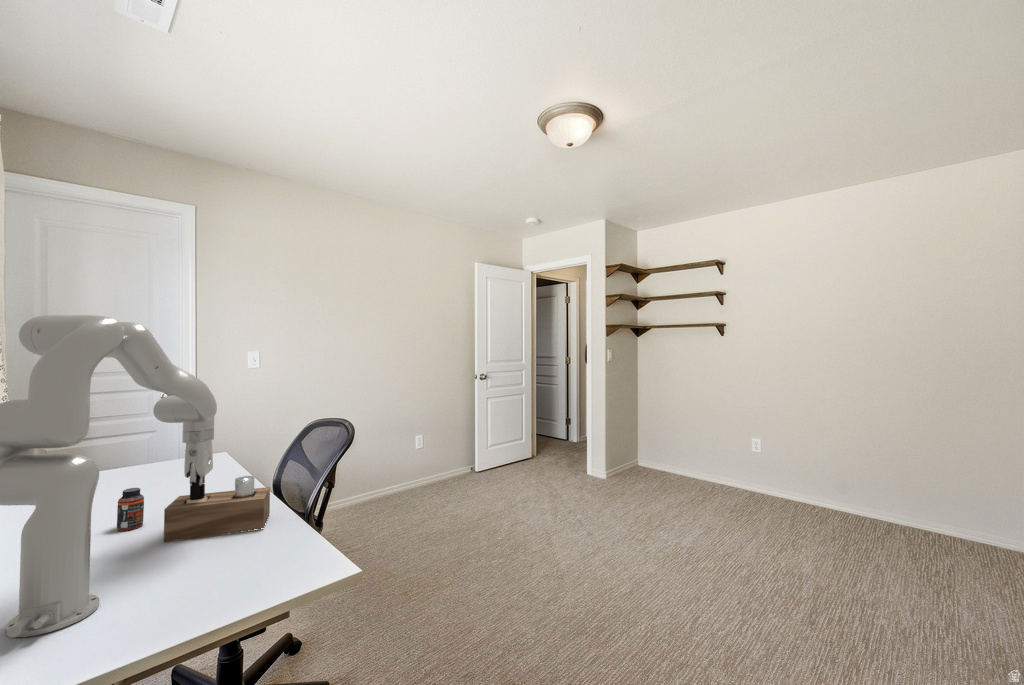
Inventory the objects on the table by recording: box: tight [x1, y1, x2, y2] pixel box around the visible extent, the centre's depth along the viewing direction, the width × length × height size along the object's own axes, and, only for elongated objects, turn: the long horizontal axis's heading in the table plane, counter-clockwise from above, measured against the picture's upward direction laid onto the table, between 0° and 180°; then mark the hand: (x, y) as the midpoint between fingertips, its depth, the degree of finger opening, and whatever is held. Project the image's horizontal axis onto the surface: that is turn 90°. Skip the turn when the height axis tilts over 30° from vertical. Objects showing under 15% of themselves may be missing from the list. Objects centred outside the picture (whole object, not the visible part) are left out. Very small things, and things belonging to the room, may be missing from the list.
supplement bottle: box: [116, 487, 145, 532], centre depth 130 cm, size 6×6×11 cm
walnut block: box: [163, 486, 271, 543], centre depth 129 cm, size 12×24×9 cm, turn 112°
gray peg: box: [234, 475, 255, 498], centre depth 132 cm, size 5×5×9 cm
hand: (197, 498), depth 127 cm, fingers closed
